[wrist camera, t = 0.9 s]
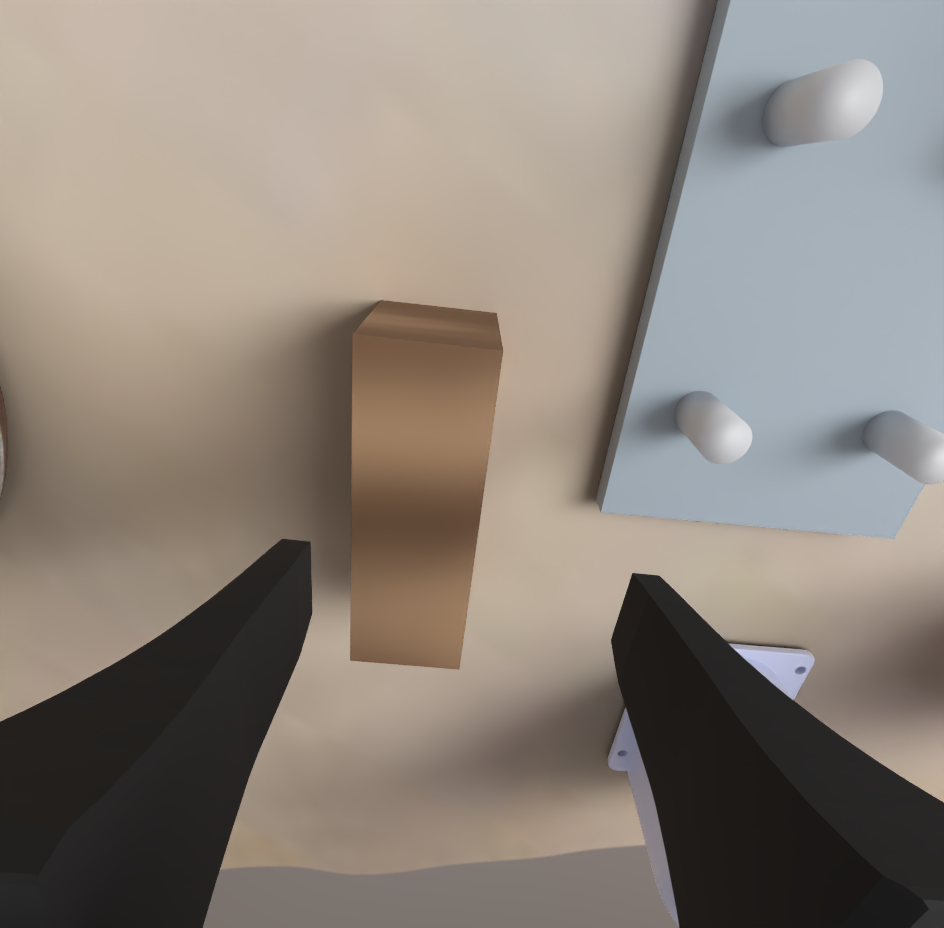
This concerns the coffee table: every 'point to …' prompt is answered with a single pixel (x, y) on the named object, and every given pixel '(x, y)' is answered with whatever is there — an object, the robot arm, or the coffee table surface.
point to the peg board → (796, 280)
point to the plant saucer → (3, 443)
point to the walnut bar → (418, 477)
